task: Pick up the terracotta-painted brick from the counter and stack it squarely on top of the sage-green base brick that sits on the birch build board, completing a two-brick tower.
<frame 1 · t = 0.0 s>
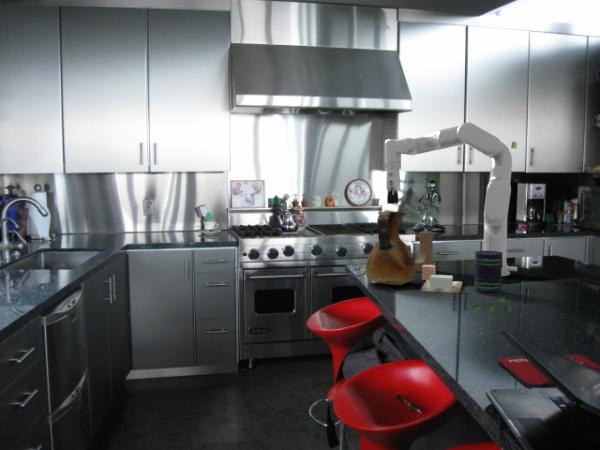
hand: (392, 203, 251), 31 cm above the worktop, tool pointing down, fingers open, 9 cm apart
ceramic pitcher: (390, 284, 220), on the worktop
storage jar: (488, 292, 202), on the worktop
wooden block: (423, 271, 249), on the worktop
build board: (442, 287, 212), on the worktop
sage base brick: (441, 286, 208), point 1 cm above the worktop, touching build board
terracotta brick: (428, 279, 228), on the worktop
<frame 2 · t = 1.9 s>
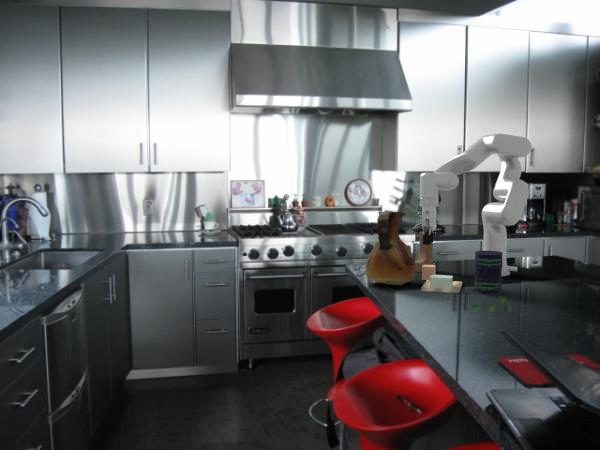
hand: (428, 243, 227), 15 cm above the worktop, tool pointing down, fingers open, 9 cm apart
nothing on the worktop moved.
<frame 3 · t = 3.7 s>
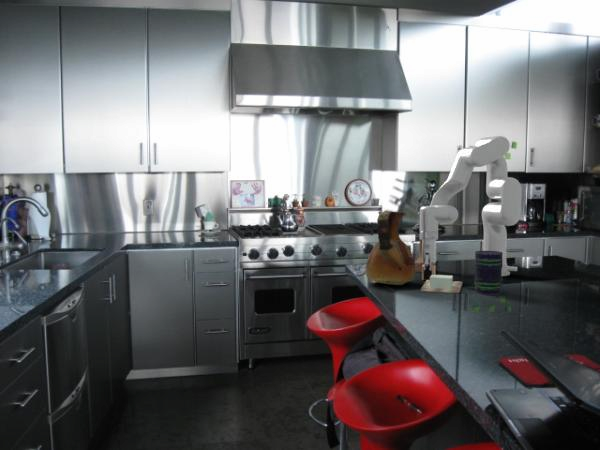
hand: (428, 278, 228), 1 cm above the worktop, tool pointing down, fingers closed on terracotta brick, 5 cm apart
terracotta brick: (428, 279, 228), on the worktop, touching gripper
everything else where it was.
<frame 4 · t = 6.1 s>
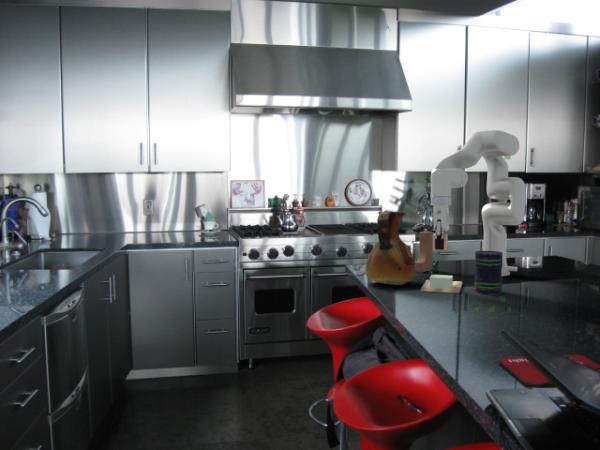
hand: (440, 248, 208), 16 cm above the worktop, tool pointing down, fingers closed on terracotta brick, 5 cm apart
terracotta brick: (439, 249, 208), point 15 cm above the worktop, touching gripper
everything else where it was.
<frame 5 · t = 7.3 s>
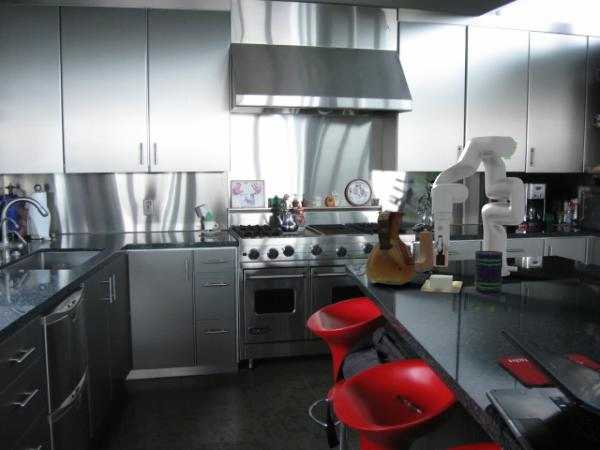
hand: (441, 263, 207), 10 cm above the worktop, tool pointing down, fingers closed on terracotta brick, 5 cm apart
terracotta brick: (440, 265, 207), point 9 cm above the worktop, touching gripper
everything else where it was.
when the fingers open (6 cm above the worktop, at t = 8.3 s): terracotta brick stays where it is, resting on sage base brick.
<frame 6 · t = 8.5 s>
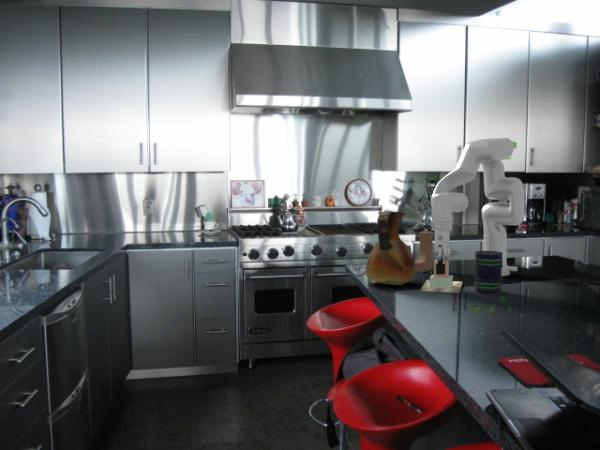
hand: (441, 272, 207), 7 cm above the worktop, tool pointing down, fingers open, 6 cm apart
sage base brick: (441, 286, 208), point 1 cm above the worktop, touching build board, terracotta brick
terracotta brick: (441, 276, 207), point 5 cm above the worktop, touching sage base brick
everything else where it was.
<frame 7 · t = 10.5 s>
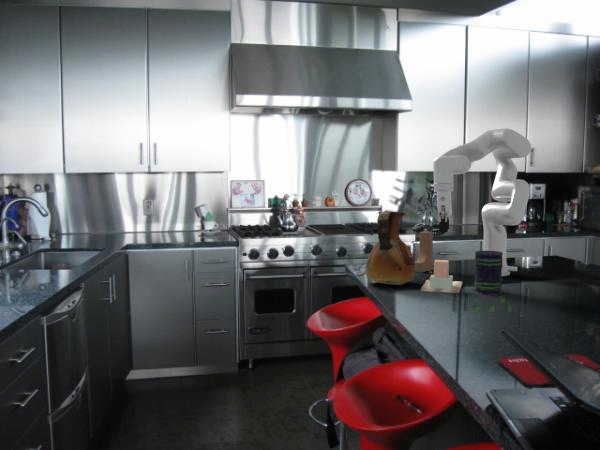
hand: (444, 230, 217), 22 cm above the worktop, tool pointing down, fingers open, 9 cm apart
nothing on the worktop moved.
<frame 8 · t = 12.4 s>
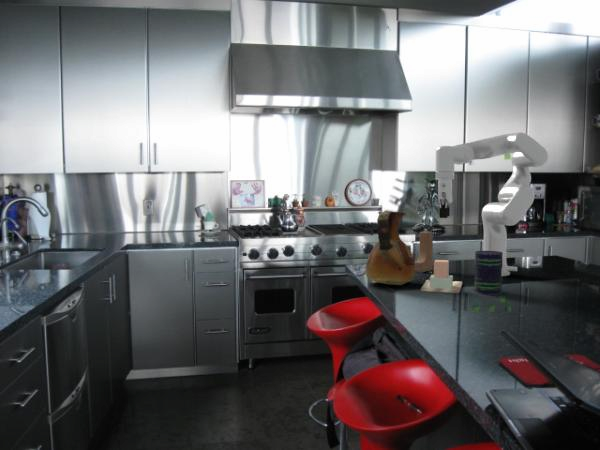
hand: (444, 217, 227), 26 cm above the worktop, tool pointing down, fingers open, 9 cm apart
nothing on the worktop moved.
at the end: terracotta brick 0.1 cm off-centre on the sage base brick, point 4.0 cm above the sage base brick's base; terracotta brick tilted 0°; sage base brick moved 0.0 cm from its start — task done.
